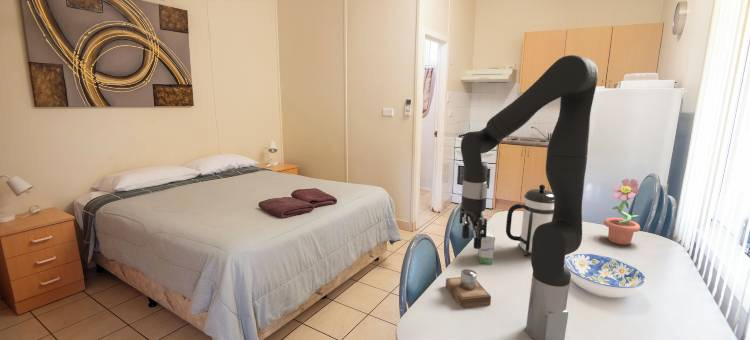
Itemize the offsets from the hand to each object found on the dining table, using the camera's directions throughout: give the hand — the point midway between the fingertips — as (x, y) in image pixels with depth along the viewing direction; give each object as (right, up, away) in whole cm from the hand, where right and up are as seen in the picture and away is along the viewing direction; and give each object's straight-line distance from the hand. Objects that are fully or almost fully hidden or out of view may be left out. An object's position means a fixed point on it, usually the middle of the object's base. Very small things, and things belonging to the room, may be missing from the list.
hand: (471, 243), depth 116 cm
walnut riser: (0, -18, +4) cm, 19 cm away
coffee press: (+36, -12, +38) cm, 53 cm away
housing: (0, -15, +3) cm, 16 cm away
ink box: (+14, -13, +31) cm, 36 cm away
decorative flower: (+82, -10, +51) cm, 97 cm away
